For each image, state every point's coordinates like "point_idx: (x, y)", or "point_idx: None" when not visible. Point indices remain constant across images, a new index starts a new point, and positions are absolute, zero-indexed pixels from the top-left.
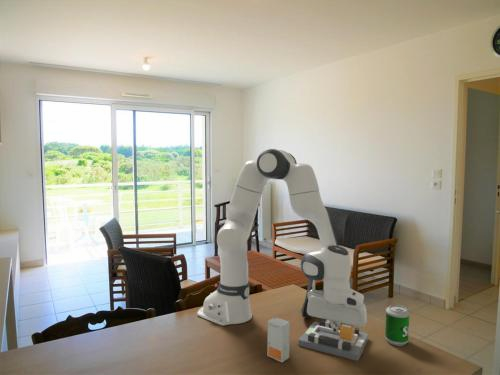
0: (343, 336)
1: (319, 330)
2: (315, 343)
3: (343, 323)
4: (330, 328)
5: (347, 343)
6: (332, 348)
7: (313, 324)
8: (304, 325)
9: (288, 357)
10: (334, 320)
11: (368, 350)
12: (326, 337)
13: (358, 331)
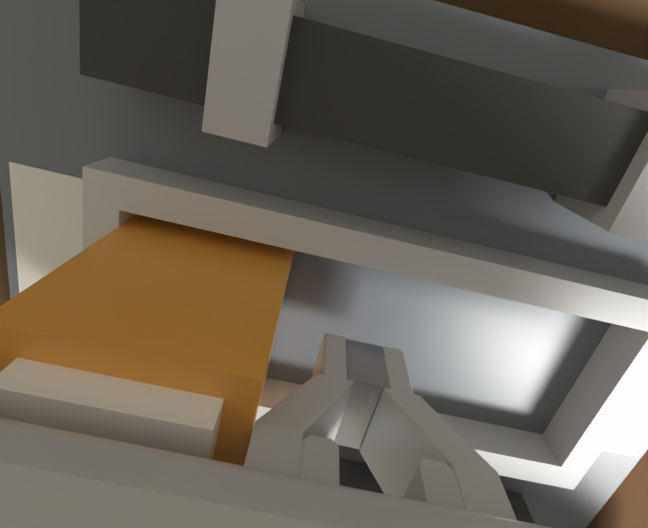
0: (230, 265)
1: (529, 421)
2: (646, 84)
3: None
4: None
5: (134, 44)
6: None
7: (578, 512)
8: (623, 509)
9: None
10: (404, 511)
11: (2, 223)
12: (502, 170)
13: None
